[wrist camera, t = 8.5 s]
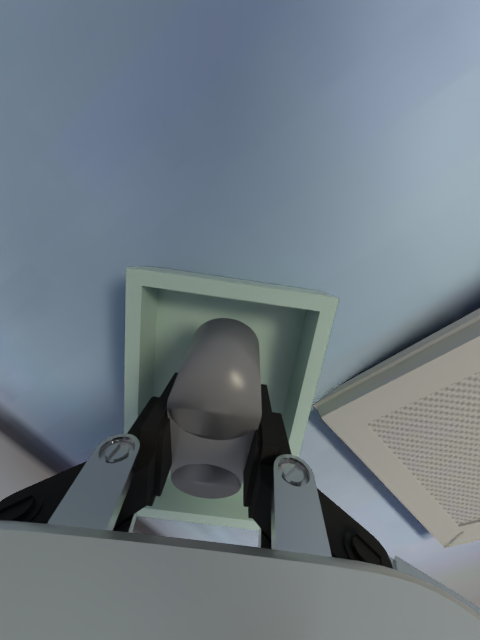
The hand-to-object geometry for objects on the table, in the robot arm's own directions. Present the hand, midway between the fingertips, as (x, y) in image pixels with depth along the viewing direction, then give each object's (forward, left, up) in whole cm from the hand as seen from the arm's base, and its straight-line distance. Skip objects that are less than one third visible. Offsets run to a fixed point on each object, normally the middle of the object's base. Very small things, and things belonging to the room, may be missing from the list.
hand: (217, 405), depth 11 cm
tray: (+1, 0, -3) cm, 3 cm away
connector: (0, 0, -1) cm, 1 cm away
